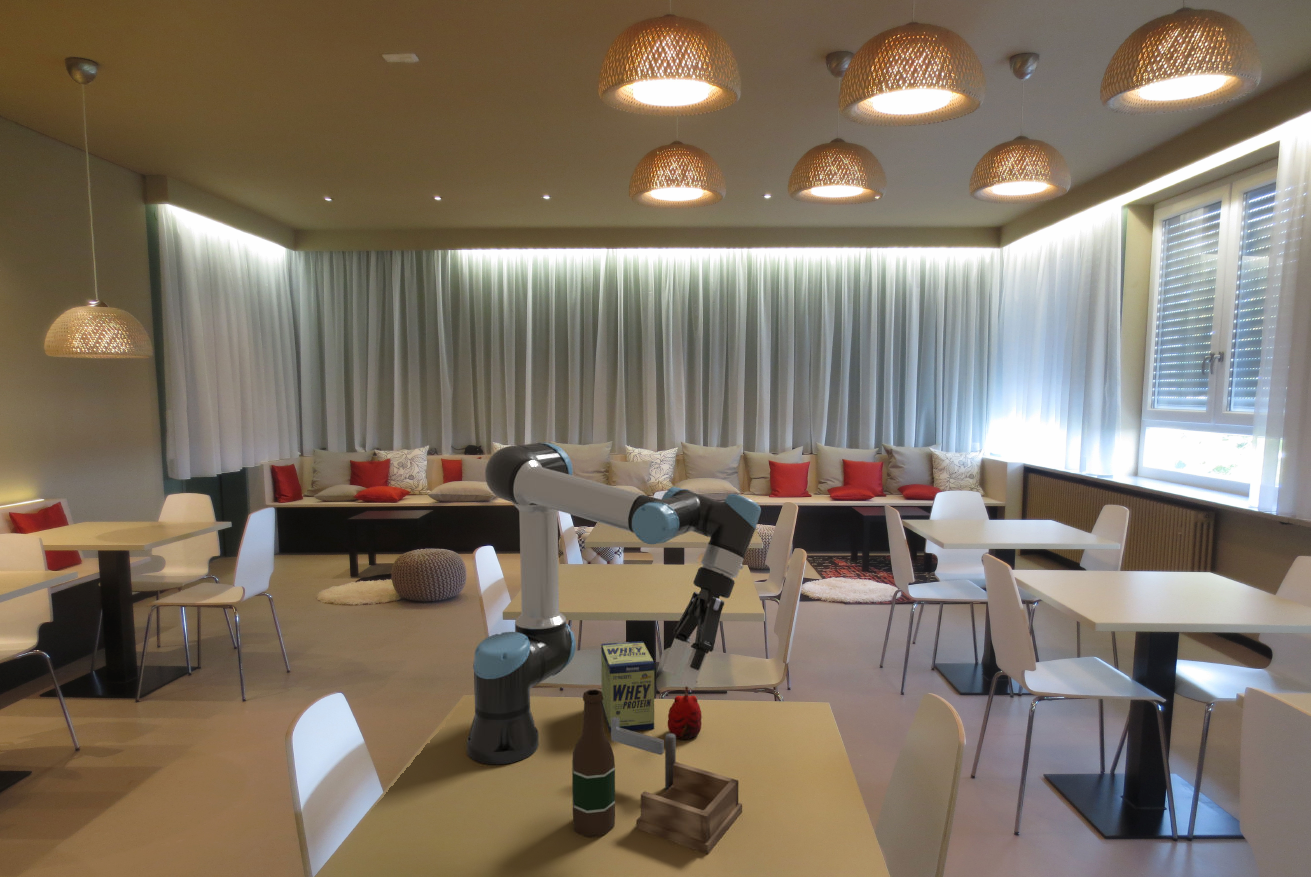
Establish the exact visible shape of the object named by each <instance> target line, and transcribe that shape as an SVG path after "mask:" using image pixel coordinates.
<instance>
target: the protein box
mask: <svg viewBox="0 0 1311 877" xmlns="http://www.w3.org/2000/svg"><path fill="white" fill-rule="evenodd" d="M600 649H601V655H600V656H601V662H600V664H601V669H600V670H601V675H600V676H601V691H602V695H603V698H604V699H603V700H602V710H603V716H604V717H605V721H606V725H607V728H608V731H609V733H610V734H611V718H613V717H614V716H615V717H618V718H619V727H620V728H623V729H627V730H630V731H634V732H637V731H645V730H654V729H655V662H654V661H655V660H653V657H652V656H651V654H650V652H649V650H648V648H647V646H646V644H645V643H644V641H643V640H642V641H624V642H610V643H609V642H607V643H601V648H600Z"/></svg>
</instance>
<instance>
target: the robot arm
mask: <svg viewBox="0 0 1311 877" xmlns="http://www.w3.org/2000/svg"><path fill="white" fill-rule="evenodd" d="M571 460H572V459H571V458H570V457H569V455H568V454H567V452H565V450H564V449H563V448H561V446H558V445H556V444H554V443H548V442H535V443H526V444H521V445H520V444H519V445H510V446H509V445H508V446H505V447H502V448H500V449H498V450H497V451H495V452H494V453H493V454H492V455H491V457H490V458H489V459H488V461H487V463H486V466H485V472H484V475H485V477H484V478H485V482H486V485H487V487H488V489H489V490H490V491H491V493H492V494H494V495H495V496H496V497H498V498H499V499H502V500H504V501H507V502H511V504H512V505H513V506H514V507H515V508H516V509H517V511H518V512H519V513H518V514H519V549H520V550H519V552H520V553H519V555H520V558H519V560H520V598H521V599H520V600H521V603H520V604H521V613H520V615H518V617H516V619H515V620H514V631H505V632H502V633H496V634H492V635H489V636H488V637H485V639H482V640H481V641H480V642H479V643H478V645H477V646H476V648H475V650H474V657H473V658H474V660H473V665H472V666H473V668H472V669H473V680H474V681H473V682H474V683H473V684H474V685H473V686H474V692H473V693H474V716H473V719H472V722H471V727H470V730H469V734H468V736H467V740H466V753H467V756H468V757H469V758H470V759H472V760H473V761H475V762H478V763H481V764H485V765H486V764H487V765H506V764H511V763H515V762H519V761H522V760H524V759H526V758H528V757H530V756H532V755H533V754H534V753H535V752H536V751H537V750H538V748H539V744H540V740H539V739H540V738H539V736H540V735H539V730H538V728H537V727H536V725H535V720H534V717H533V714H532V711H531V689H532V688H533V687H535V686H537V685H539V684H540V683H542V682H545V681H546V680H547V679H549V678H551V677H554V676H556V675H558V674H559V673H561V672H562V671H563V670H564V669H565V668H566V667H568V665H570V664H571V662H572V660H573V659H574V656H575V653H576V645H577V644H576V636H575V633H574V631H572V630H571V627H570V625H569V624H568V623H567V618H566V616H565V615H564V614H563V613H561V612H560V597H559V596H560V593H559V592H560V591H559V590H560V589H559V586H560V582H559V581H560V580H559V539H558V538H559V537H558V536H559V533H558V531H559V529H558V524H559V522H558V511H559V512H562V513H565V514H568V515H571V516H575V517H578V518H582V519H585V520H589V521H591V522H596V523H599V524H603V525H606V526H609V527H613V528H616V529H619V530H622V531H625V532H630V533H632V534H634V535H635V537H637V538H638V540H639V541H641V543H644V544H647V545H657V544H664V543H667V542H669V541H670V540H672V539H675V538H677V537H679V536H681V535H684V534H687V533H689V532H693V533H695V534H700V535H702V536H703V537H704V536H705V537H707V538H709V541H708V543H707V545H706V548H705V550H704V553H703V555H702V558H701V560H700V563H701V565H702V566H700V567H699V568H698V569H697V572H696V574H695V577H694V580H693V585H694V586H696V587H698V588H700V591H699V592H697V591H694V592H693V593H692V596H691V598H690V600H689V603H688V604H687V605H686V608H685V610H684V612H683V613H682V616H681V617H680V619H679V621H678V622H677V623H676V626H675V627H674V629H673V634H674V639H673V640H672V643H671V646H670V649H669V652H668V654H667V656H666V660H665V662H664V665H663V666H662V669H661V670H663V671H664V672H666V673H669V674H672V675H674V676H676V675H677V673H678V670H679V668H680V665H681V662H682V659H683V657H684V654H685V652H686V650H687V647H688V644H691V643H690V642H691V636H692V634H693V633H694V631H695V630H696V635H695V642H693V643H692V644H691V645H690V648H691V649H690V652H689V655H688V657H687V661H686V663H685V666H684V667H683V671H682V673H681V676H680V679H679V681H678V684H679V685H681V686H684V687H688V689H689V688H690V689H692V690H694V689H695V685H696V681H697V682H698V678H699V675H700V673H701V669H702V667H703V664H704V663H705V659H706V657H707V655H708V654H709V652H710V653H712V652H713V651H714V648H715V643H716V638H717V634H718V629H719V624H720V619H721V614H722V611H723V609H724V605H725V601H724V600H722V599H720V597H721V598H723V599H729V598H730V596H731V595H732V592H733V589H734V587H735V584H736V582H735V580H734V579H735V578H737V577H738V575H739V572H740V570H743V568H744V565H743V562H744V559H745V556H746V554H747V551H748V549H749V547H750V544H751V542H752V539H753V537H754V533H755V532H756V530H757V525H758V522H759V519H760V516H761V512H762V509H761V506H760V505H759V504H758V503H757V502H755V501H754V500H752V499H750V498H748V497H746V496H743V495H740V494H735V493H730V494H727V495H726V497H725V498H724V500H723V501H721V500H717V499H714V498H711V497H708V496H704V495H702V494H699V493H696V492H694V491H691V490H690V489H688V488H687V489H686V488H681V487H677V486H674V487H673V486H672V487H670V488H668V489H667V491H666V492H664V493H663V495H662V497H661V498H657V497H653V496H650V495H646V494H645V495H644V494H643V493H639V492H634V491H631V490H628V489H624V488H620V487H616V486H613V485H609V484H605V483H601V482H598V481H594V480H590V479H587V478H582V477H579V476H575V475H574V473H573V472H574V471H573V470H574V468H573V464H572V461H571Z"/></svg>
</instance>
